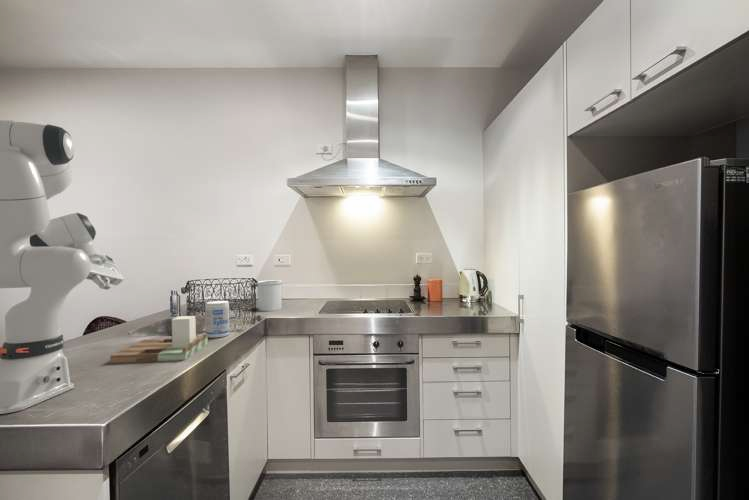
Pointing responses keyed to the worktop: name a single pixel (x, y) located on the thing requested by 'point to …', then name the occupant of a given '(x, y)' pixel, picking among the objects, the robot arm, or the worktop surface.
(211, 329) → the supplement tub
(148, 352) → the brown green flat slab
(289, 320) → the worktop surface
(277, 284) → the utensil holder
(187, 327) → the cream block
